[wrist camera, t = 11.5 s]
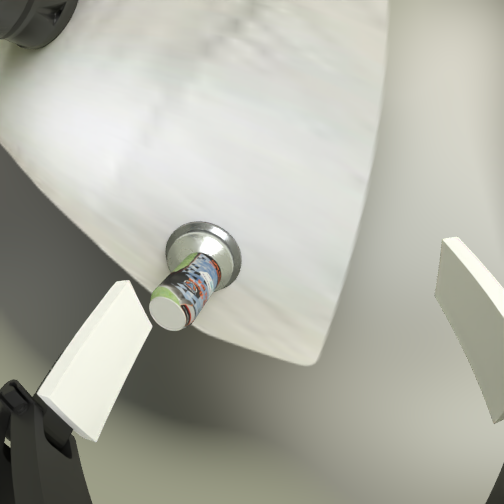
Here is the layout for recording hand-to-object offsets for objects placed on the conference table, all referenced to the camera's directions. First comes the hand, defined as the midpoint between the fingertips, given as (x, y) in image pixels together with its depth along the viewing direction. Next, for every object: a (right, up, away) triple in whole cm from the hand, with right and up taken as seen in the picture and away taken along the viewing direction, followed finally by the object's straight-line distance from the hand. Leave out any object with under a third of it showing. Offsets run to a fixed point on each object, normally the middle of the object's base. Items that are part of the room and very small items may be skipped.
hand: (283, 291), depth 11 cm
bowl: (-9, +1, +34) cm, 35 cm away
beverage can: (-9, 0, +32) cm, 33 cm away
